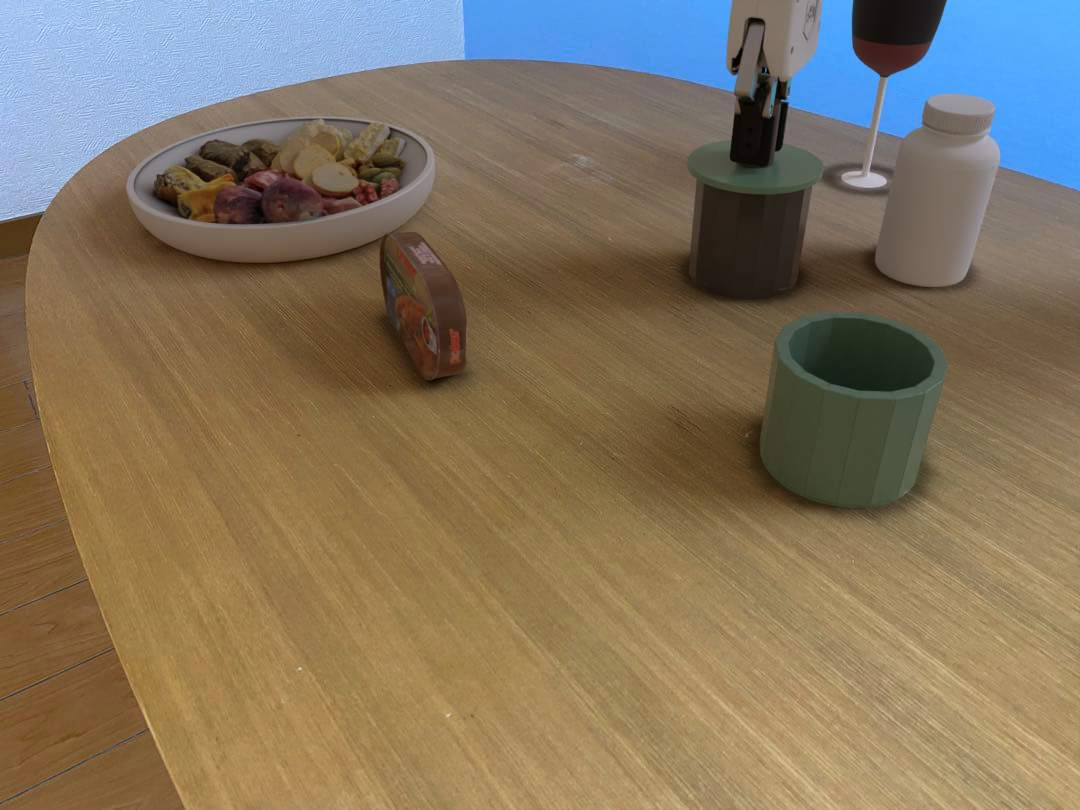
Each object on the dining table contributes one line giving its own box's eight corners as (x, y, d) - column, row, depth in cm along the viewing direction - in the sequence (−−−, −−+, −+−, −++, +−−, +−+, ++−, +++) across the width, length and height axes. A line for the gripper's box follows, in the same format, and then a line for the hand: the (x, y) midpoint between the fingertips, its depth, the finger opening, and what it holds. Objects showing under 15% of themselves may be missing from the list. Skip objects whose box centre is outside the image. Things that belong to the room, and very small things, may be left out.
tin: (381, 310, 80) (369, 217, 75) (417, 302, 81) (408, 210, 76) (436, 402, 68) (427, 300, 63) (477, 392, 69) (471, 291, 64)
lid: (711, 145, 84) (717, 74, 81) (834, 164, 80) (847, 90, 77) (667, 187, 76) (672, 111, 73) (802, 211, 72) (814, 131, 69)
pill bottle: (902, 295, 80) (943, 122, 72) (857, 255, 87) (890, 91, 78) (985, 285, 82) (1036, 114, 73) (935, 246, 88) (976, 84, 79)
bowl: (142, 178, 105) (123, 107, 100) (406, 145, 112) (399, 78, 108) (135, 300, 81) (110, 216, 77) (469, 249, 89) (464, 169, 84)
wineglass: (893, 202, 97) (938, -6, 85) (811, 185, 100) (844, -15, 89) (914, 177, 102) (959, -21, 90) (836, 162, 106) (869, -30, 94)
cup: (744, 244, 89) (757, 141, 83) (818, 283, 82) (838, 174, 77) (667, 270, 85) (675, 163, 79) (739, 313, 78) (753, 200, 73)
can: (781, 403, 68) (799, 299, 63) (927, 440, 64) (957, 332, 59) (740, 483, 60) (756, 372, 55) (901, 530, 56) (933, 416, 52)
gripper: (812, -76, 59) (773, 199, 70) (864, -107, 71) (824, 132, 82) (699, -83, 62) (678, 182, 73) (767, -112, 74) (741, 120, 85)
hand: (756, 153), depth 77 cm, fingers closed on lid, 3 cm apart
